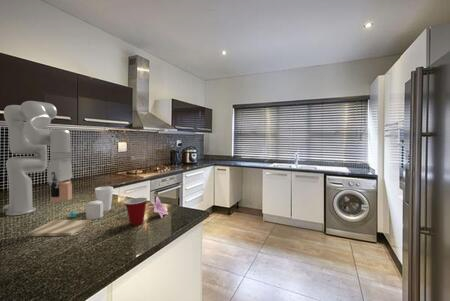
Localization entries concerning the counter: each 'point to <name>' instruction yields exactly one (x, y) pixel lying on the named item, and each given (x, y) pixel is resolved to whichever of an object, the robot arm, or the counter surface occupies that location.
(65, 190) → the pink acorn nut
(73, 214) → the marble
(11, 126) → the robot arm
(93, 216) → the white domed cap nut
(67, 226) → the oak board
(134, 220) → the plastic cup
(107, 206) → the foam cup
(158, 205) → the lily
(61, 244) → the counter surface
